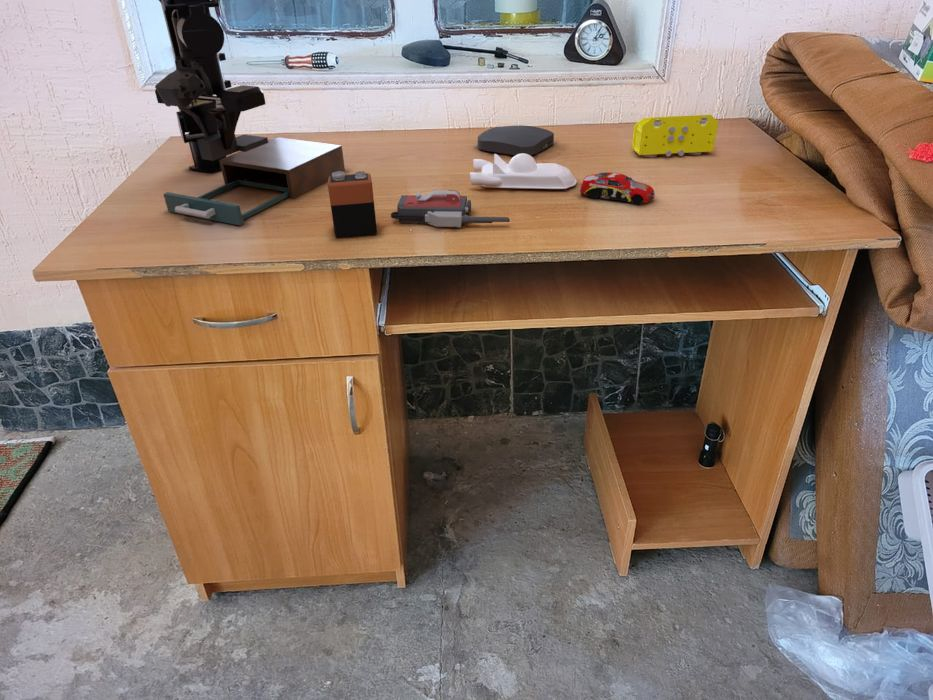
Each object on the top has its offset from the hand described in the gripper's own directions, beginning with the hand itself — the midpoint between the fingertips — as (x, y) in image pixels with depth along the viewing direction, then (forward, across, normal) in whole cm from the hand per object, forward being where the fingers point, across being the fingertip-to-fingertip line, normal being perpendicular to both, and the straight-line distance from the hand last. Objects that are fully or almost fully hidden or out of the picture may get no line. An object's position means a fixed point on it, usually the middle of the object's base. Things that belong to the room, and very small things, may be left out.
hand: (221, 148), depth 110 cm
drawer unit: (+11, -2, +17) cm, 20 cm away
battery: (+11, +26, 0) cm, 28 cm away
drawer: (+11, -2, +1) cm, 11 cm away
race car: (+11, +61, +32) cm, 70 cm away
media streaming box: (+11, +32, +55) cm, 65 cm away
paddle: (+1, 0, +2) cm, 3 cm away
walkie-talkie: (+11, +38, +11) cm, 41 cm away
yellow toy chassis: (+11, +64, +62) cm, 90 cm away
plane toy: (+11, +43, +32) cm, 55 cm away
